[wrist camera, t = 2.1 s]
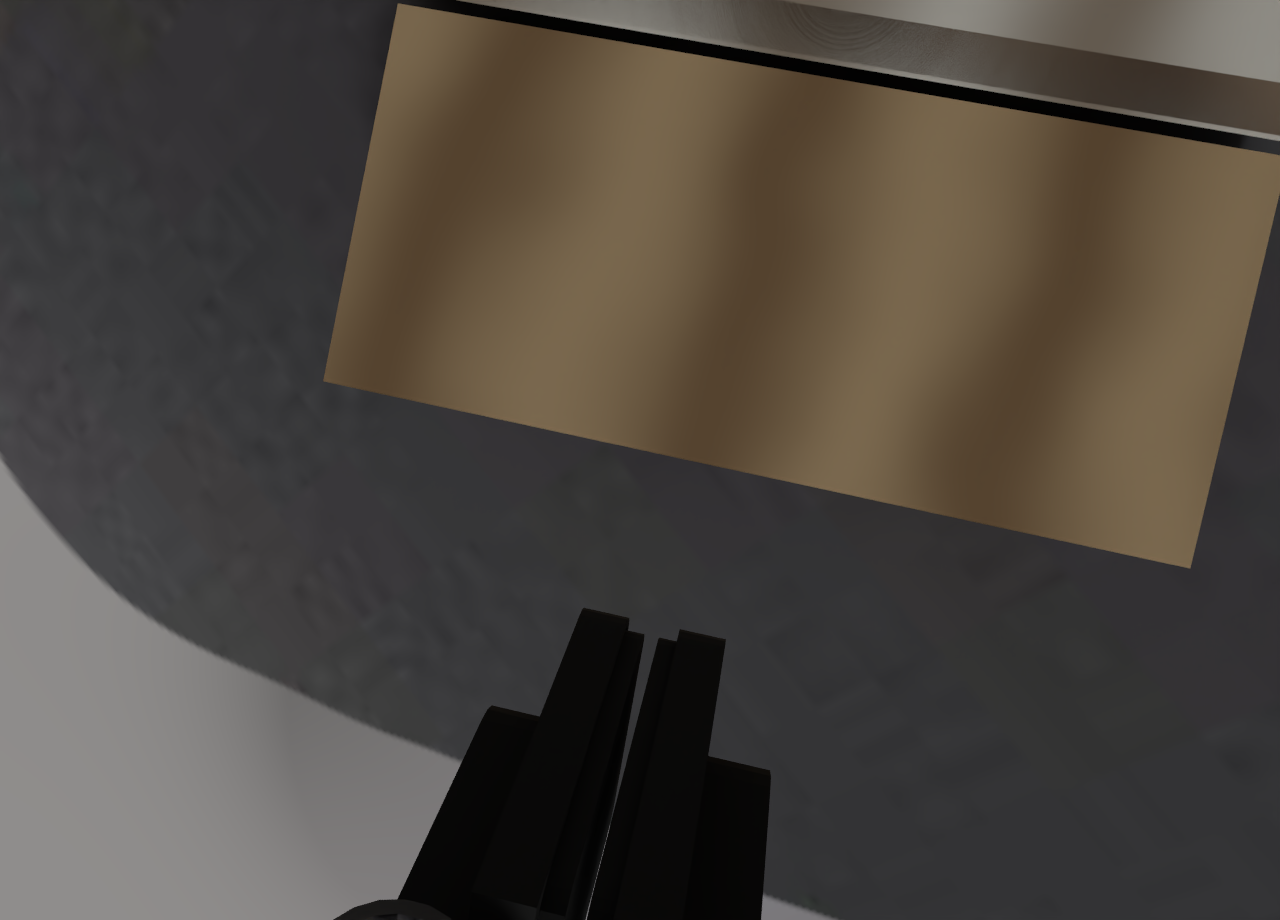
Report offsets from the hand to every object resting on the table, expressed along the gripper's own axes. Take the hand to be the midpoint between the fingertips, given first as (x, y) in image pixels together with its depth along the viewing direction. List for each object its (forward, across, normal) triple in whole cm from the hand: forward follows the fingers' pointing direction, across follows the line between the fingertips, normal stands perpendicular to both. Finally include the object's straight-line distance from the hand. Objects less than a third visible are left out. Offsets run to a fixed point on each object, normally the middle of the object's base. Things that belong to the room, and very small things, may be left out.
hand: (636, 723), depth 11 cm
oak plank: (+15, -1, -1) cm, 15 cm away
